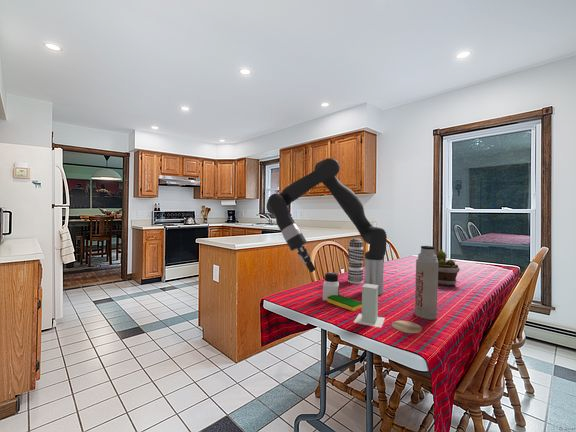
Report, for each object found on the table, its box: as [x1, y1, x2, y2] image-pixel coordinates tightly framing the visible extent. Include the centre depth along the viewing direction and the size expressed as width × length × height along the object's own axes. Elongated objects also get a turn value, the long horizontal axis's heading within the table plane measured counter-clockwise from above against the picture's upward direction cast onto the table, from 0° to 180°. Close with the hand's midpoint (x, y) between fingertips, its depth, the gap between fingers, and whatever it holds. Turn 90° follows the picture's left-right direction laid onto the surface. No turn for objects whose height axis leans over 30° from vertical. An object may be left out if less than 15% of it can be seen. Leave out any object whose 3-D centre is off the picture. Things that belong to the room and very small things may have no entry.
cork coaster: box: [391, 320, 423, 334], centre depth 102 cm, size 10×10×1 cm
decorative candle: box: [347, 237, 365, 285], centre depth 164 cm, size 9×9×25 cm
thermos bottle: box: [414, 245, 439, 320], centre depth 113 cm, size 8×8×28 cm
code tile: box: [353, 312, 386, 328], centre depth 108 cm, size 10×10×1 cm
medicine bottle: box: [322, 272, 340, 302], centre depth 133 cm, size 7×7×12 cm
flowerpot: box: [435, 249, 460, 287], centre depth 161 cm, size 14×15×20 cm
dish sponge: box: [326, 294, 362, 312], centre depth 125 cm, size 7×14×2 cm, turn 44°
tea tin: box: [361, 283, 379, 324], centre depth 108 cm, size 5×5×13 cm
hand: (313, 271), depth 116 cm, fingers open, 8 cm apart
